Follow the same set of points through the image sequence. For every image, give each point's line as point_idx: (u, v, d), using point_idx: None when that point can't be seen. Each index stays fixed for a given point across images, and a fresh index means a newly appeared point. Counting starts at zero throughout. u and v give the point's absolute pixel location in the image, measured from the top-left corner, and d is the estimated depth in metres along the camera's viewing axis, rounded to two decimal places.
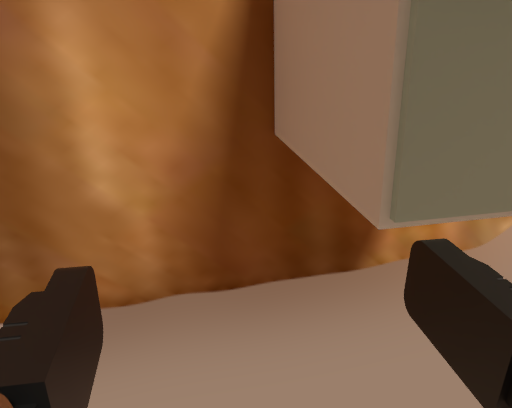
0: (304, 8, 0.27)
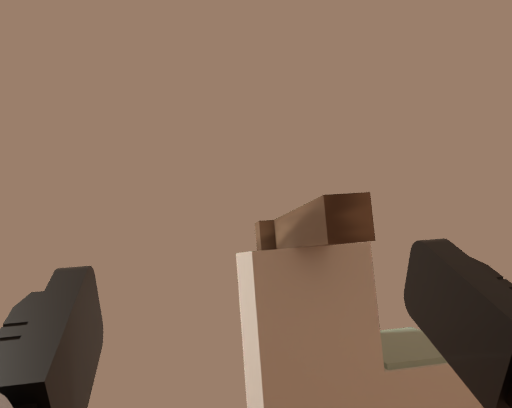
0: None
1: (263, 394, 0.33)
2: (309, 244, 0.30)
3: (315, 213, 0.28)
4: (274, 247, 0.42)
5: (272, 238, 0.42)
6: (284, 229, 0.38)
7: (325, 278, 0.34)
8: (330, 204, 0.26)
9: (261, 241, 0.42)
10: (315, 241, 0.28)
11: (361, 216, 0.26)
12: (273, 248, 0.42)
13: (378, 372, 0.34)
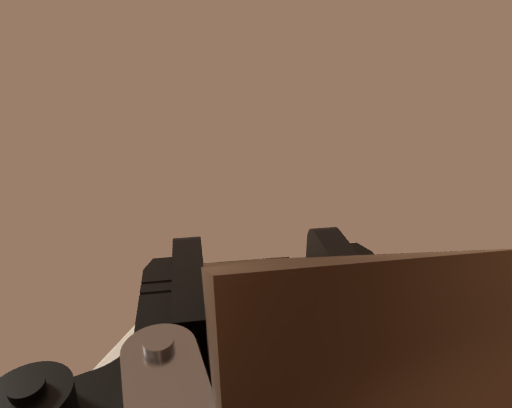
0: None
1: None
2: None
3: (210, 346, 0.05)
4: None
5: None
6: None
7: None
8: (265, 346, 0.03)
9: None
10: None
11: None
12: None
13: None
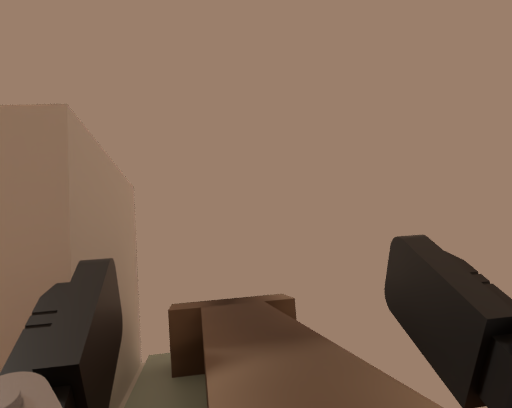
0: None
1: None
2: None
3: None
4: (201, 368, 0.19)
5: (197, 348, 0.20)
6: None
7: None
8: None
9: (172, 356, 0.19)
10: None
11: None
12: (198, 371, 0.19)
13: None
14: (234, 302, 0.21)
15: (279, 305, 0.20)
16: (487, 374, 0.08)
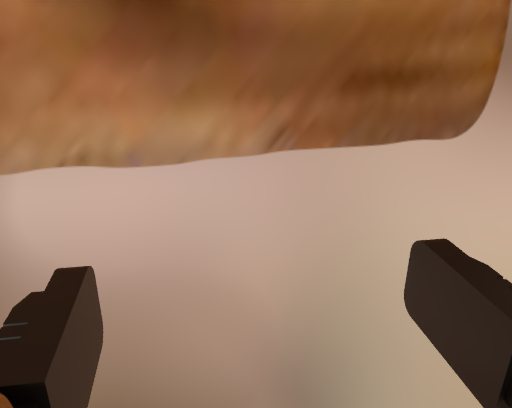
0: None
1: None
2: None
3: None
4: None
5: None
6: None
7: None
8: None
9: None
10: None
11: None
12: None
13: None
14: None
15: None
16: None
